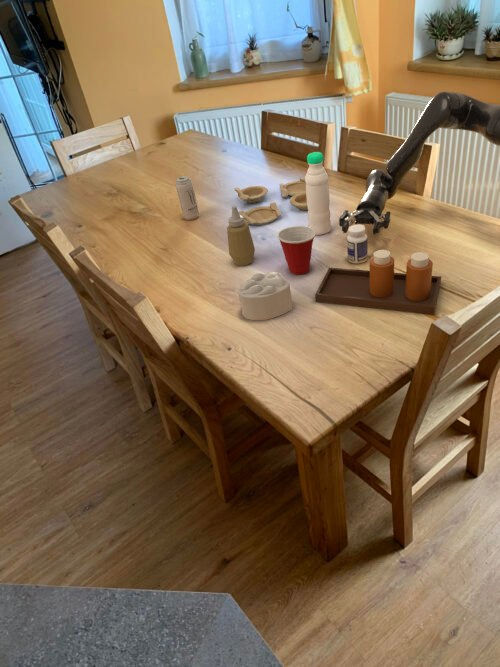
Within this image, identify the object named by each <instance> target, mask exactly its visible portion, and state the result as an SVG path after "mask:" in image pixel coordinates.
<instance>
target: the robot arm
mask: <svg viewBox="0 0 500 667" xmlns="http://www.w3.org/2000/svg"><path fill="white" fill-rule="evenodd" d="M438 129H444V130H445V129H446V130H460V131H468V132H473V133H476V134H478V135H481V137H482V138H484V139H485V140H486V141H488V142H489V143H491V144H493V145H495V146H498V147H500V104H490V103H487V102H484V101H483V100H479V99H477V98H475V97H472V96H470V95H467V94H466V93H462V92H454V91H441V92H438V93H436V94H435V95H434V96H433V97H432V98H431V100H430V101H429V102H428V104H427V105H426V107H425V108H424V110H423V111H422V113H421V115H420V116H419V118H418V120H417V122H416V123H415V124H414V126H413V128H412V129H411V131H410V133H409V134H408V136H407V138H406V139H405V140H404V142H403V143H402V144H401V146H400V147H399V148H398V149H397V150H396V151H395V153H394V154H393V155H392V156H391V157H390V159H389V160H388V161H387V163H386V164H385V169H386V171H384V170H383V169H380V168H377V169H374V170H372V171H371V172H370V173H369V174H368V176H367V178H366V181H365V193H364V195H362V197H361V199H360V201H359V203H358V205H357V207H356V208H355V210H354V211H353V212H349V210H348V209H345V210H344V211H343V212H342V213H341V215H340V216H339V218H338V222H339V227H341V232H343V234H347V232H348V229H349V227H351V226H353V225H370V226H372V227H373V228H372V234H373V236H374V235H377V234H378V233H380V230H382V228H383V229H387V230H388V229H389V226H390V222H391V211H386V212H385V213H383V212H384V211H385V208H386V204H387V201H388V200H391V199H392V198H394V196H395V195H396V193H397V191H398V190H399V187H400V186H401V183H402V181H403V180H404V179H405V176H407V174H408V173H409V172H410V171H411V170H412V169H413V168H414V167H415V165H416V164H417V163H418V162H419V160H420V159H421V156H422V155H423V150H424V146H425V143H426V142H427V140H428V138H429V137H430V136H431V135H432V134H433V133H435V132H436V131H437V130H438Z"/></svg>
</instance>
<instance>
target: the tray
mask: <svg viewBox="0 0 500 667" xmlns="http://www.w3.org/2000/svg"><path fill="white" fill-rule="evenodd" d="M441 284H442V276H440V275H432V279H431V290H430V296H429V298H428V299H426V300H423V301H414V300H410V299H408V298H407V297H406V295H405V287H406V273H403V272H394V290H393V293H392V294H391V295H389V296H387V297H376V296H373V295H372V294H371V293H370V270H366V269H353V268H340V267H328V269H327V270H326V273H325V275H324V277H323V278H322V280H321V282H320V283H319V286H318V288H317V290H316V292H315V294H314V296H315V297H314V298H315V302H316V303H323V304H324V303H325V304H334V305H342V306H343V305H344V306H352V307H361V308H371V309H378V310H387V311H398V312H405V313H414V314H424V315H425V314H426V315H433V316H434V315H435V312H436V307H437V302H438V298H439V293H440V288H441Z"/></svg>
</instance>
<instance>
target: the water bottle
mask: <svg viewBox="0 0 500 667" xmlns="http://www.w3.org/2000/svg"><path fill="white" fill-rule="evenodd" d="M306 162H307V165H308V168H307V172H306V174H305V177H304V178H305V182H306V197H307V206H308V210H307V218H308V227H310V228H312V229H314V230H315V231H316V235H315V236H321V235H325V234H328V233H329V232H330V231H331V230H332V222H331V210H330V188H329V175H328V173H327V171H326V168H325V167H324V166H323V163H324V154H323V153H322V152H320V151H314V152H310V153H308V155H307V156H306Z"/></svg>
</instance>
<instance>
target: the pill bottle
mask: <svg viewBox="0 0 500 667" xmlns="http://www.w3.org/2000/svg"><path fill="white" fill-rule="evenodd" d="M366 229H367V228H366V226H365V225H364V224H359V225H353V226H350V227H349V228H348V230H347V232H348V235H347V237H346V244H347V245H346V248H347V249H346V250H347V251H346V252H347V260H348V262H350V263H352V264H362V263H365V262H367V260H368V258H369V250H368V247H369V246H368V235H367V233H366Z"/></svg>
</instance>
